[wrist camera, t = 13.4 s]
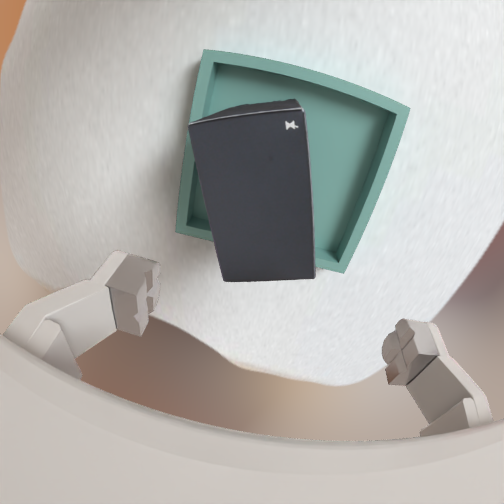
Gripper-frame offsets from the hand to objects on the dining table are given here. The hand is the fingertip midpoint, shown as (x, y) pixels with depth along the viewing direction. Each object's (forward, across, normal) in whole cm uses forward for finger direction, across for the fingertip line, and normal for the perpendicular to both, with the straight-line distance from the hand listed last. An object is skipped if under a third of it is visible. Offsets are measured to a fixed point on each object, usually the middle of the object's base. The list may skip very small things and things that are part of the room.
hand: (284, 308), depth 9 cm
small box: (+18, +2, +1) cm, 18 cm away
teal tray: (+19, 0, 0) cm, 19 cm away
